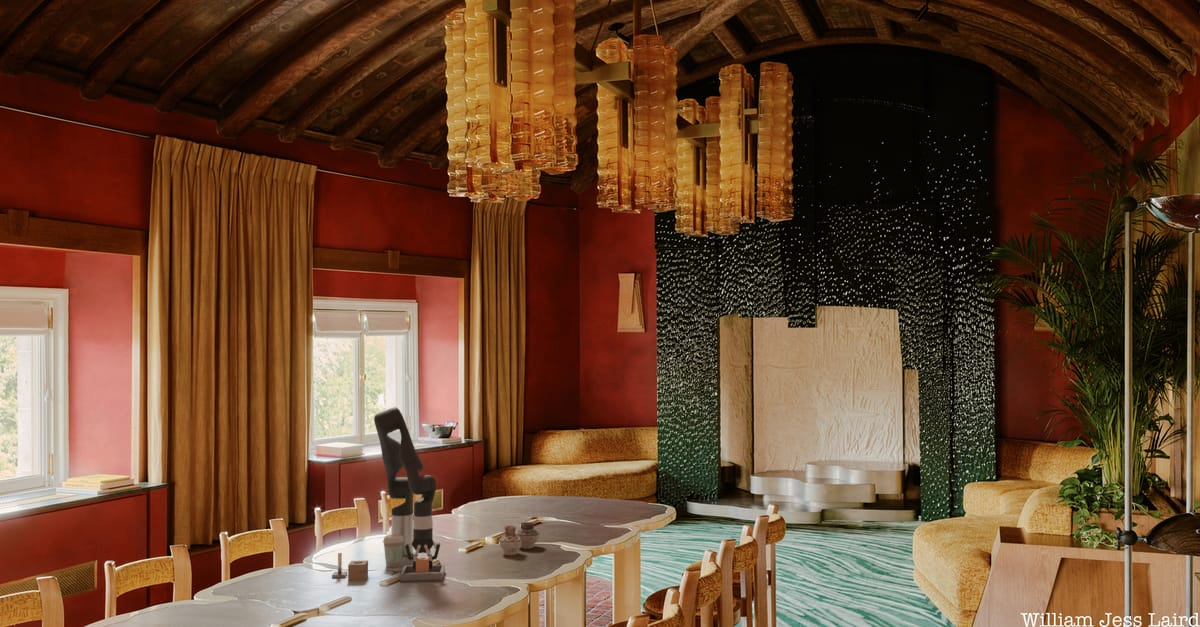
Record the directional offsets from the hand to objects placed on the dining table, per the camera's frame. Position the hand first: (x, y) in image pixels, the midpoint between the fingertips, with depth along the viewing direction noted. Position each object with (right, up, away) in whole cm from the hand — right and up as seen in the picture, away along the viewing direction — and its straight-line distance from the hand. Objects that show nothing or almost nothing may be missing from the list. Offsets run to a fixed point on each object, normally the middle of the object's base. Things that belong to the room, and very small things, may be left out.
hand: (422, 569), depth 361 cm
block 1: (-25, -3, -2) cm, 25 cm away
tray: (0, -3, 0) cm, 3 cm away
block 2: (0, -1, 0) cm, 1 cm away
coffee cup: (-16, -4, +18) cm, 25 cm away
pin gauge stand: (-33, -3, +2) cm, 33 cm away
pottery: (+34, -4, +45) cm, 57 cm away
